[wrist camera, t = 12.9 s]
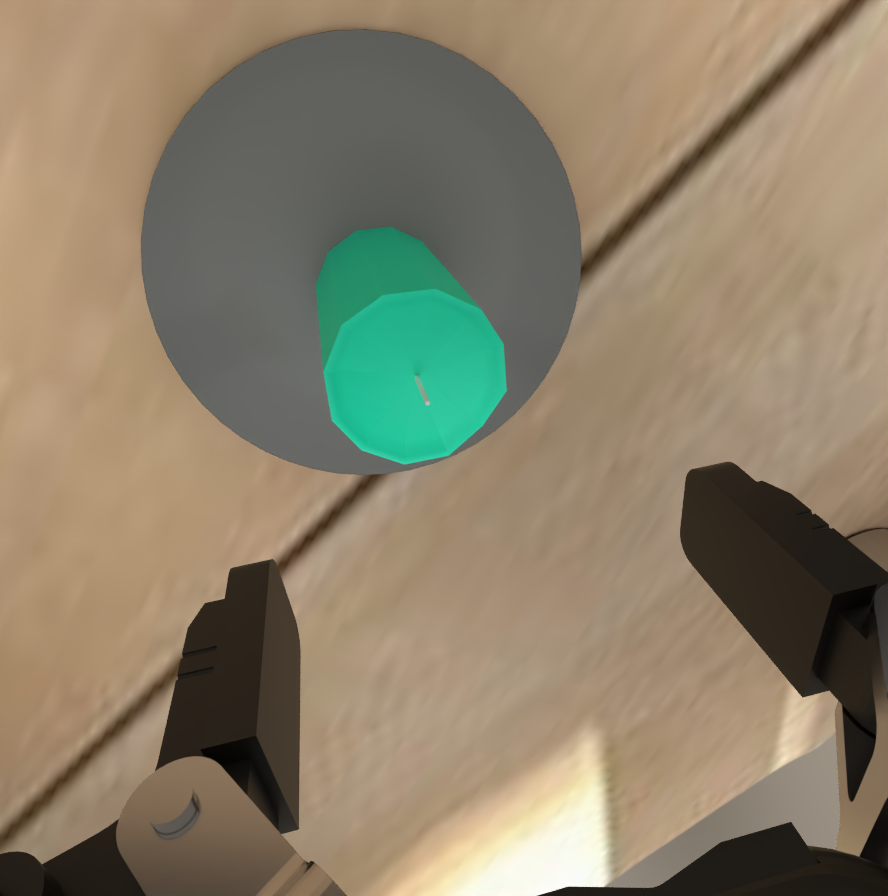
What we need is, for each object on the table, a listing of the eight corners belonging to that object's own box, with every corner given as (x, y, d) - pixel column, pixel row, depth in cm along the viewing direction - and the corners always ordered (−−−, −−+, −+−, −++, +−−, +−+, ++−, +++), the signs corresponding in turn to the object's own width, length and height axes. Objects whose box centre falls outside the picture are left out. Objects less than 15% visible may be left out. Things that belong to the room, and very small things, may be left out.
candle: (347, 372, 30) (372, 515, 20) (292, 256, 27) (288, 353, 16) (460, 326, 30) (544, 444, 20) (419, 204, 27) (493, 269, 16)
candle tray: (569, 3, 25) (581, -2, 24) (573, 423, 35) (582, 433, 34) (65, 68, 23) (54, 66, 22) (226, 496, 33) (224, 509, 32)
